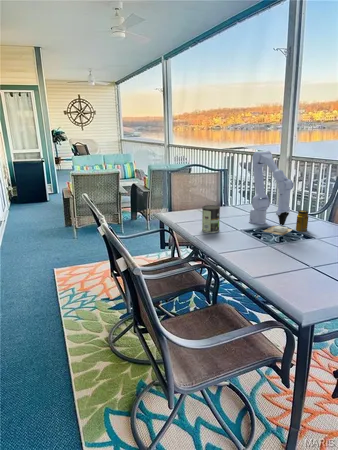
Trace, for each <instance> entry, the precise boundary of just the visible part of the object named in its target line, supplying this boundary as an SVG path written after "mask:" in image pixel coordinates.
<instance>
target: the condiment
mask: <svg viewBox="0 0 338 450" xmlns="http://www.w3.org/2000/svg"><path fill="white" fill-rule="evenodd" d="M308 224H309V211H308V210H305V209H301V210H298V212H297V215H296V224H295V230H296V231H297V232H300V233H301V232H304V233H305V232H308V226H309V225H308Z"/></svg>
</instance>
